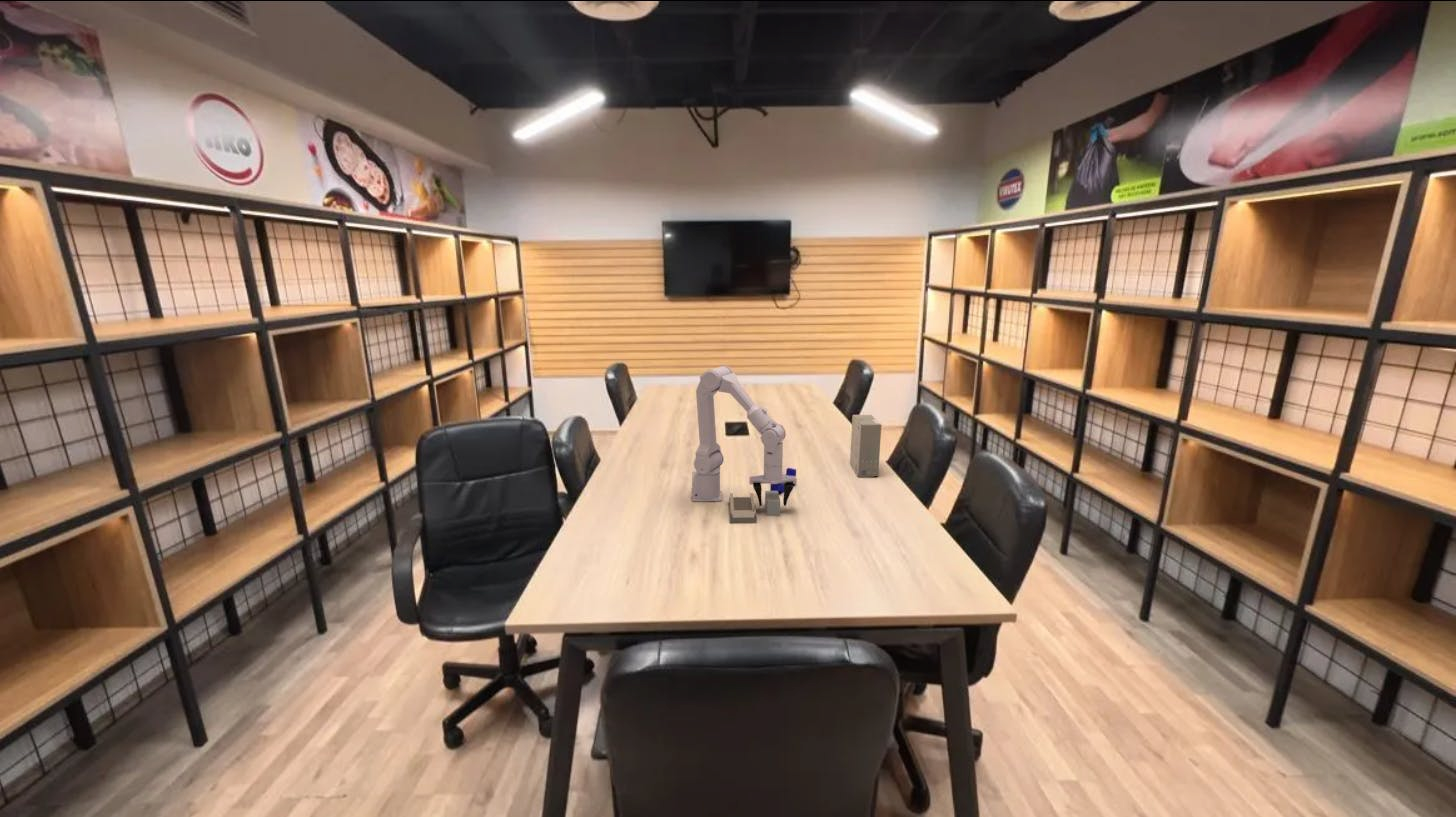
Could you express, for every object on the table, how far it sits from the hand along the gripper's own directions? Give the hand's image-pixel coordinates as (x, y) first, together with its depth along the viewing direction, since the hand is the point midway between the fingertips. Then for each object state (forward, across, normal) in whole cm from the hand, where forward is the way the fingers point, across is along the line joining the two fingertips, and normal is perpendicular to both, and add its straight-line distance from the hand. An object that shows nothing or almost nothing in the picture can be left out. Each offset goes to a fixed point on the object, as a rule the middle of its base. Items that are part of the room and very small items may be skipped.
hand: (772, 504), depth 174 cm
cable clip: (+2, +5, +18) cm, 18 cm away
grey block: (+2, 0, 0) cm, 2 cm away
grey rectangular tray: (+2, -10, -1) cm, 10 cm away
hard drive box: (+2, +38, +35) cm, 52 cm away
